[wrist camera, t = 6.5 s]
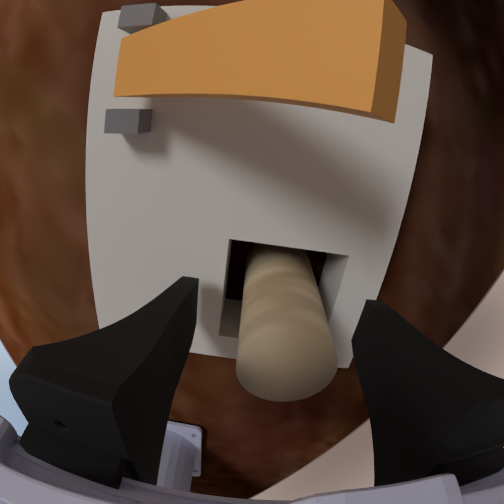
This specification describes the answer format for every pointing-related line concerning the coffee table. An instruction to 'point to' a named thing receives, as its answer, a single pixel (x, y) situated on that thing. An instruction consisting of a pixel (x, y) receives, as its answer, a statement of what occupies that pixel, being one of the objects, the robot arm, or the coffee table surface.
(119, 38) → the white flat block
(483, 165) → the coffee table surface
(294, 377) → the peg
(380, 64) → the latch
